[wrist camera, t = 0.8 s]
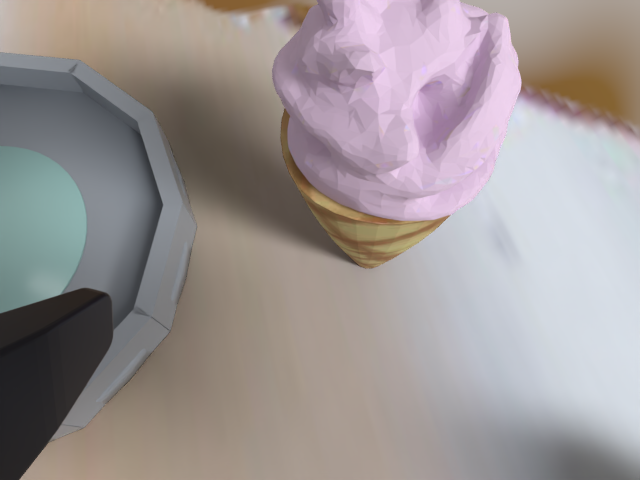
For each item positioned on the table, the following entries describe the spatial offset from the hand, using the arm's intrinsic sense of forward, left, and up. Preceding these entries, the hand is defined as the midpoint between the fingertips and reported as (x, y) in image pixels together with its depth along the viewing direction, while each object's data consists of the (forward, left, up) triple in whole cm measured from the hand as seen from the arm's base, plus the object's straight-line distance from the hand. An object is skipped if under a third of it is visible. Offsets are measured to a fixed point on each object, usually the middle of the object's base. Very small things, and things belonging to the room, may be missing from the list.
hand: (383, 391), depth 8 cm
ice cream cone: (+7, +4, -15) cm, 17 cm away
